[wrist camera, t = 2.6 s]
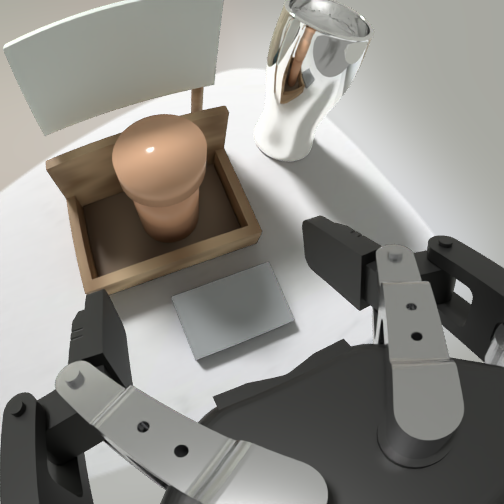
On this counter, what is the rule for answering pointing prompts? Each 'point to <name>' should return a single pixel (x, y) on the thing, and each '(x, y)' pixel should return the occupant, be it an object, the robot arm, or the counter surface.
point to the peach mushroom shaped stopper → (162, 173)
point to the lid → (115, 58)
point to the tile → (232, 310)
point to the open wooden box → (127, 219)
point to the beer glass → (308, 72)
